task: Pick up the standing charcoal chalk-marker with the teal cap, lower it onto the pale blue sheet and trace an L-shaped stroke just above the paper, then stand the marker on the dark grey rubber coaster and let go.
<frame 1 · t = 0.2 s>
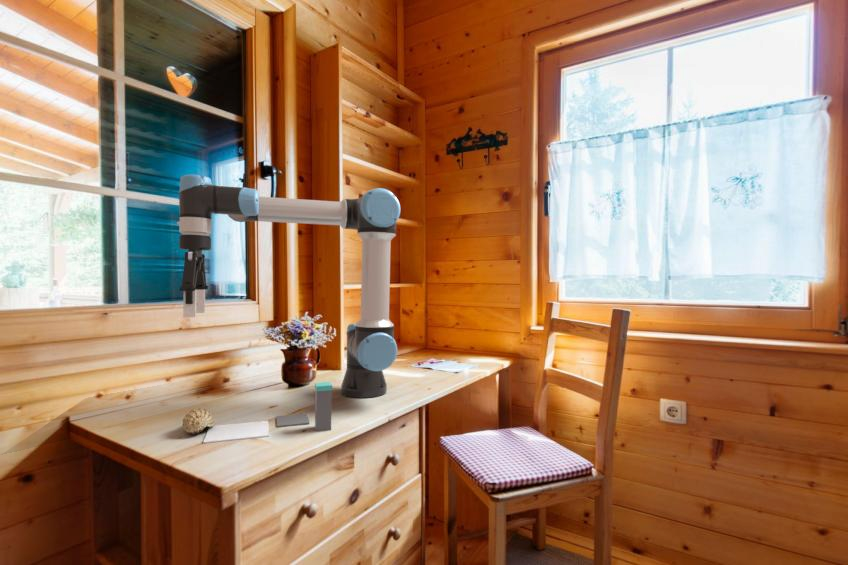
hand: (194, 315, 115), 28 cm above the table, fingers open, 13 cm apart
seashell: (198, 430, 107), on the table, touching paper
marker: (322, 428, 110), on the table
coaster: (292, 420, 115), on the table
paper: (238, 431, 106), on the table
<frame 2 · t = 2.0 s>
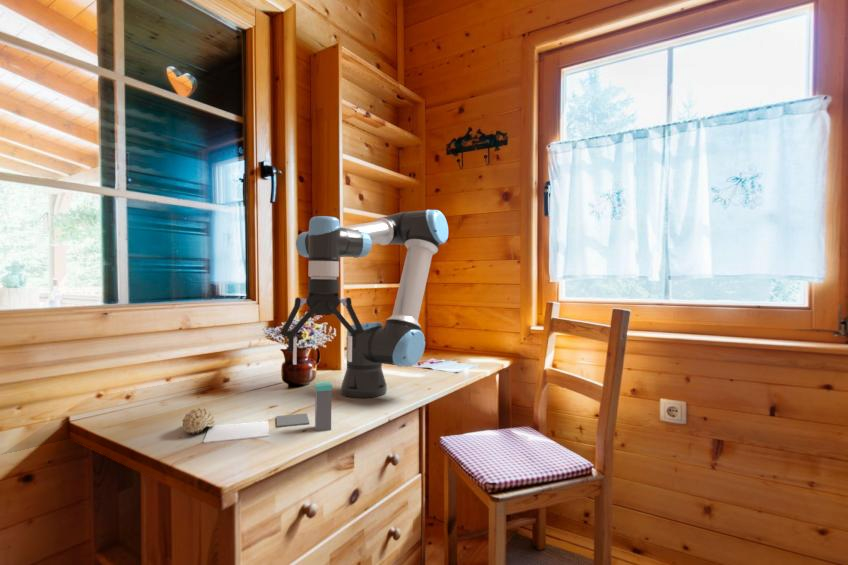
hand: (322, 362, 110), 17 cm above the table, fingers open, 13 cm apart
nothing on the table moved.
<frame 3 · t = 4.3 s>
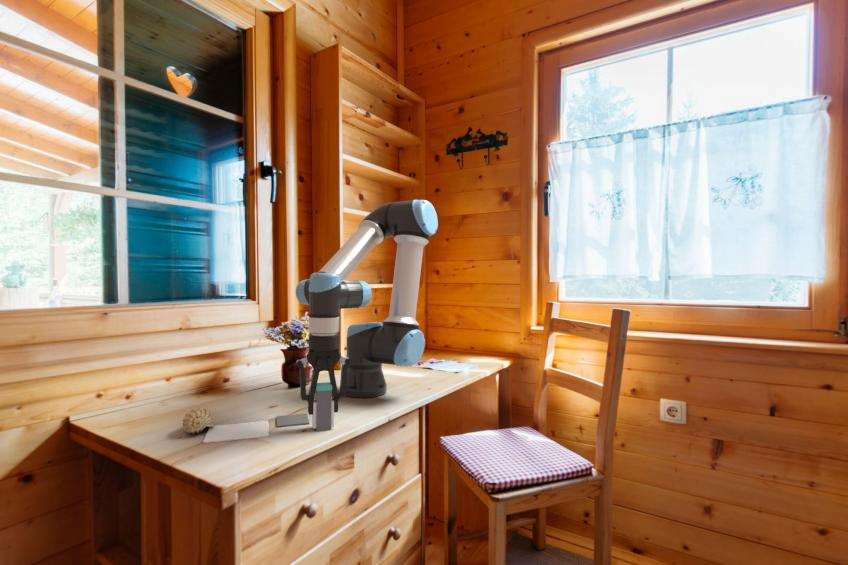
hand: (323, 425, 110), 1 cm above the table, fingers closed on marker, 4 cm apart
marker: (322, 428, 110), on the table, touching gripper
everything else where it was.
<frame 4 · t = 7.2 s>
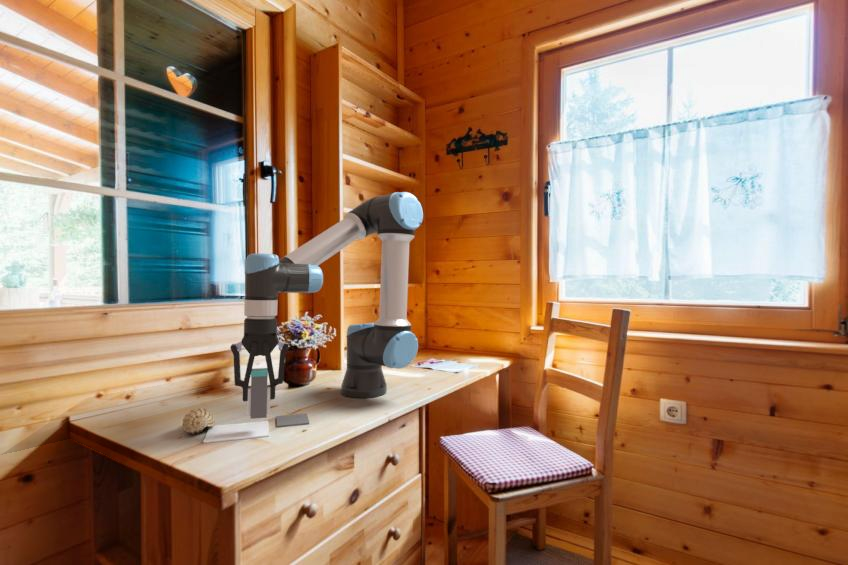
hand: (258, 413, 105), 5 cm above the table, fingers closed on marker, 4 cm apart
marker: (258, 415, 105), point 4 cm above the table, touching gripper
everything else where it was.
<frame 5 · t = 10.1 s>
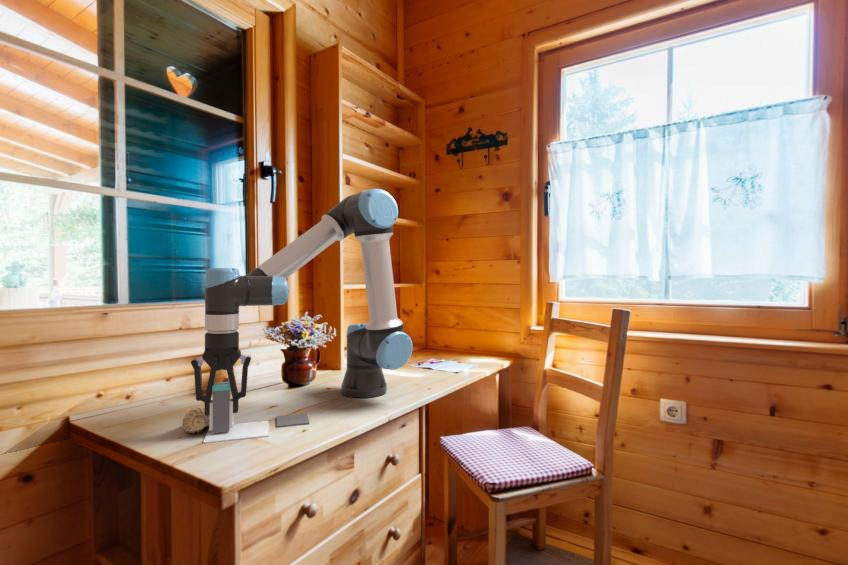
hand: (221, 427, 105), 1 cm above the table, fingers closed on marker, 4 cm apart
seashell: (197, 430, 107), on the table, touching gripper
marker: (221, 429, 105), point 1 cm above the table, touching gripper
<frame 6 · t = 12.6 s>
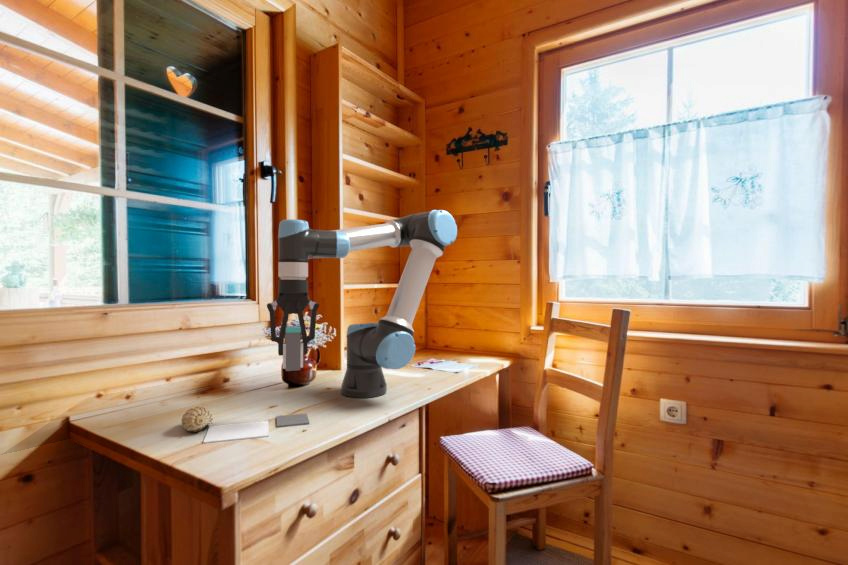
hand: (292, 366, 115), 14 cm above the table, fingers closed on marker, 4 cm apart
seashell: (195, 428, 108), on the table, touching paper
marker: (292, 369, 115), point 14 cm above the table, touching gripper
when the fingers open (2 cm above the table, at t = 14.7 s): marker drops 1 cm, resting on coaster.
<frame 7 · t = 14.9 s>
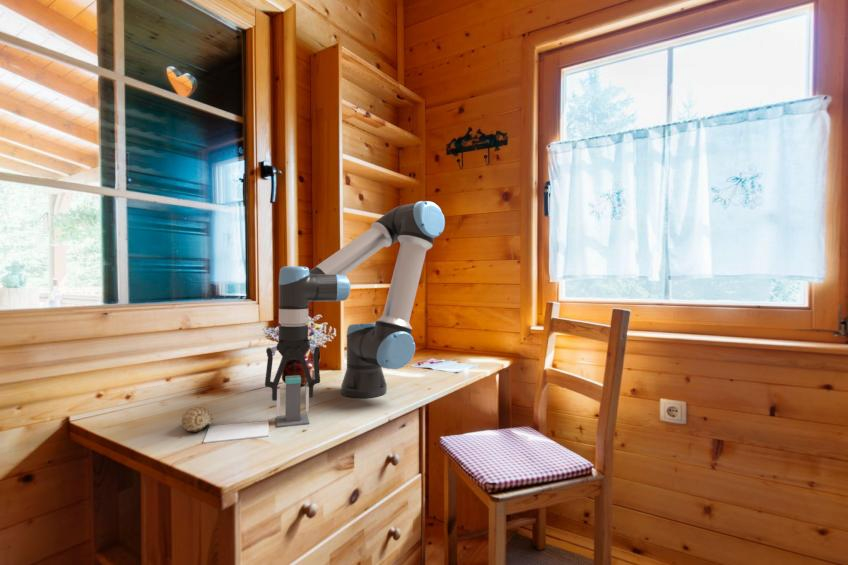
hand: (292, 411, 115), 3 cm above the table, fingers open, 7 cm apart
marker: (292, 419, 115), resting on coaster
everything else where it was.
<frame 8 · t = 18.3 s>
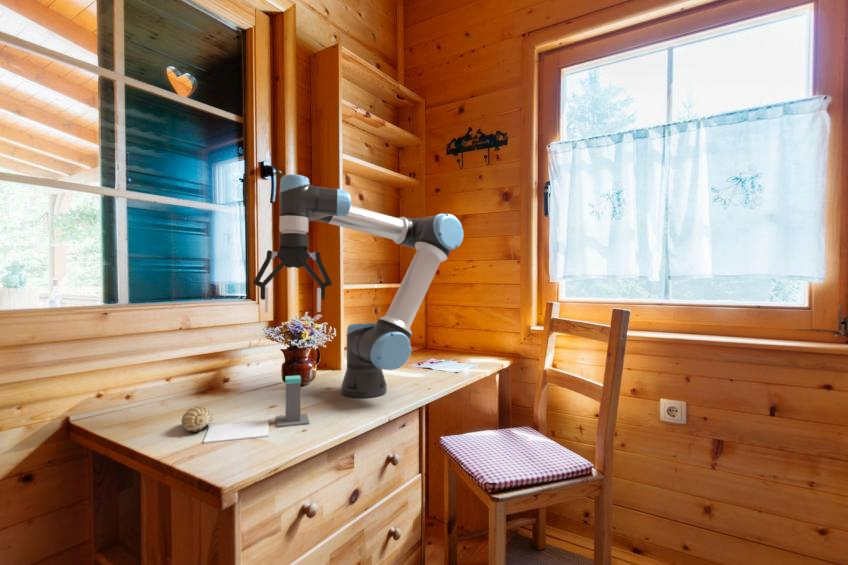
hand: (293, 311, 117), 29 cm above the table, fingers open, 13 cm apart
nothing on the table moved.
at the end: marker inside the target area on the coaster (0.1 cm from its centre), point 0.4 cm above the coaster's base; marker tilted 0°; the gripper is holding nothing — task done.
